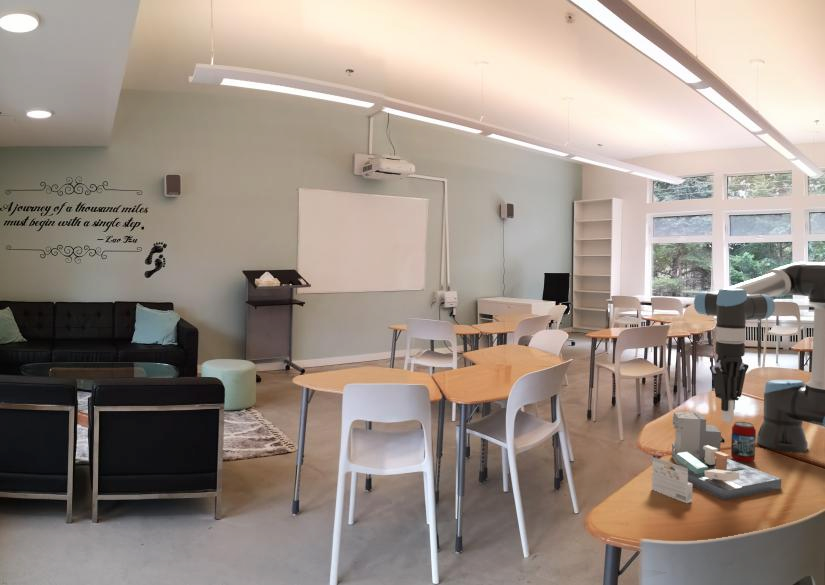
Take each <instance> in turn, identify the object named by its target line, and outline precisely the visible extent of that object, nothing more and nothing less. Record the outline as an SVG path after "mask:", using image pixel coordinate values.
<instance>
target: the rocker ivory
mask: <svg viewBox="0 0 825 585" xmlns="http://www.w3.org/2000/svg"><path fill="white" fill-rule="evenodd" d="M704 473H705V477H706V478H712V479H719V480H725V481H732V480H738V479H740V478H739V472H732V471H725V470H718V469H712V470H707V471H704Z"/></svg>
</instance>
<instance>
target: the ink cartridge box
mask: <svg viewBox="0 0 825 585" xmlns="http://www.w3.org/2000/svg"><path fill="white" fill-rule="evenodd" d="M668 465H669V466H670V467H671V466H672V467H673V468H674V469H675V471H674V470H671V469H670V468H669V467H665V466H668ZM651 476H652V478H651V491H653V490H654V491H653V492H656V491H657V492H656V493H658V492H659V494H661V493H662V494H661V495H664V496H666V495H667V496H666V497H669V498H671V497H672V499H674V498H675V500H676V501H679V502H681V503H684V504H690V503H692V502H693V484H692V483H689V482H688V468H685V467H682V466H679V465H678V464H677V463H676V464H675V463H673V462H669V461H666V460H663V459H660V458H657V457H654V456H652V473H651Z"/></svg>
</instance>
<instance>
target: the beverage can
mask: <svg viewBox="0 0 825 585" xmlns="http://www.w3.org/2000/svg"><path fill="white" fill-rule="evenodd" d="M756 435H757V430H756V428H755V427H754V424H753V423H751V422H747V421H735V422H734V424H733V425H732V426H731V443H730V444H731V445H730V446H731V449H730V450H731V451H730V457H731V458H733V459H734V461H735V462H738V463H740V462H741V463H746V464H747V463H748V464H749V463H752V462H753V461H755V459H756V458H755V457H756V440H757V436H756Z"/></svg>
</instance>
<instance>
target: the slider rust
mask: <svg viewBox="0 0 825 585" xmlns="http://www.w3.org/2000/svg"><path fill="white" fill-rule="evenodd" d="M714 456H716V457H715V459H716V469H718V470H725V471H727V459H730V457H731V454H727V453H725V452H722V451H720V452H714ZM730 460H731V459H730Z"/></svg>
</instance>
